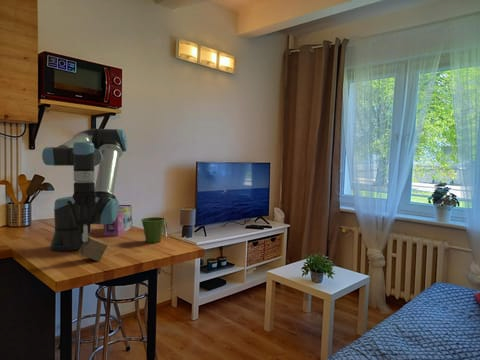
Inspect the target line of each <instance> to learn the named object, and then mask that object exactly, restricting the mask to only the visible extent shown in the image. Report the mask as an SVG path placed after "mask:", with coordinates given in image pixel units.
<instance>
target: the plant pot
mask: <svg viewBox="0 0 480 360" xmlns="http://www.w3.org/2000/svg"><path fill="white" fill-rule="evenodd" d="M140 221H141V223H142V224H141V225H142V226H143V232H144V238H145V241H146V243H149V244H157V243H159V242H162V236H163V230H164V229H163V228H164V224H165V221H166V218H165V217H158V216H157V217H156V216H154V217H153V216H152V217H145V218H141V219H140Z"/></svg>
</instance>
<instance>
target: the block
mask: <svg viewBox="0 0 480 360" xmlns="http://www.w3.org/2000/svg"><path fill="white" fill-rule="evenodd" d="M108 246H109V244H107V243H105V242H104V241H103V240H100V239H97V238H95V237H92V236H89V235H88V242H84V243H83V244H82V246H81V248H80V249H79V250H78V252H79V254H80V255H81V256H82V257H86V258H88V259H91V260H93V261H97V262H100V261H101V259H102V258H103V255H104V253H105V251H106V249H107V247H108Z"/></svg>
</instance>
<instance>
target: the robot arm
mask: <svg viewBox="0 0 480 360" xmlns="http://www.w3.org/2000/svg"><path fill="white" fill-rule="evenodd" d="M127 149H128V144H127V136H126V132H125V131H124V129H118V128H115V129H114V128H113V129H112V128H89V129H86V130H82V131H80V132H78V133H76V134H74V135H73V137H72V138H70V139H69V140H67V141H66V142H64V143H62V144H60V145H57V146H56V147H54V146H49V147H48V146H47V147H45V148H44V149H43V150H42V152H41V154H42V155H41V157H42V158H41V160H42V163H44V165H46V166H53V167H57V166H63V167H64V166H65V167H67V166H70V167H71V166H73V182H74V183H73V194H72V195H70V196H65V197H60V198H56V199H55V201H54V208H53V212H54V213H53V215H54V219H53V220H54V233H53V236H52V238H51V242H50V250H51V251H55V252H71V251H72V252H73V251H79V250H80V248H81V246H82V244H83V243H84V242H88V236H89V235H88V234H89V233H91V225H103V226H104V225H105V224H112V223H113V222H114V221H115V220H116V218H117V215H118V210H119V209H118V208H119V205H120V203H119V202H120V201H119V200H118V198H117V196H116V195H115V194H114V193H115V187H116V186H115V185H116V177H117V171H118V167H119V166H118V165H119V159H120V158H121V157H122V156H123V153H124V152H127ZM96 166H98V169H97V175H96V180H95V167H96ZM94 181H95V182H94Z"/></svg>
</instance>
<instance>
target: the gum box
mask: <svg viewBox="0 0 480 360" xmlns="http://www.w3.org/2000/svg"><path fill="white" fill-rule="evenodd" d="M118 209H119V210H118V215H117V218H116V220H115V221H114V222H113V223H112V224H105V225H103V236H104V237H118V236H121V235H122V234H123V233H125V232H127V231H128V230H130V229H132V227H133V221H132V219H133V217H132V216H133V215H132V214H133V213H132V211H133V210H132V209H133V208H132V204H119V208H118Z"/></svg>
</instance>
